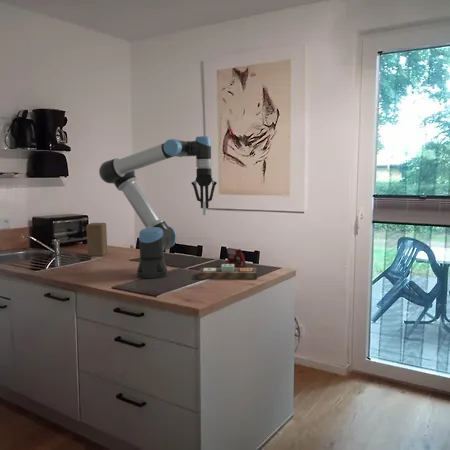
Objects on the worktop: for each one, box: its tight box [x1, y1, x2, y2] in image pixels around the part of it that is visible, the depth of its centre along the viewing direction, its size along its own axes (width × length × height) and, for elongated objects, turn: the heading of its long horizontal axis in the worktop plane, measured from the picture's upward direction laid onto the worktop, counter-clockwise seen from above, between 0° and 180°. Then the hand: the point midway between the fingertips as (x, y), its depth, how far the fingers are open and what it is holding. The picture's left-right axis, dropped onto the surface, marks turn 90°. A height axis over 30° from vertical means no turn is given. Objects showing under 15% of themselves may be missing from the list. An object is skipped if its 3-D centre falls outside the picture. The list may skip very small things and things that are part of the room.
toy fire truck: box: [224, 247, 247, 268], centre depth 239 cm, size 7×12×10 cm, turn 42°
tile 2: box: [220, 263, 234, 272], centre depth 220 cm, size 6×6×3 cm
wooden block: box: [86, 222, 108, 257], centre depth 282 cm, size 10×10×20 cm
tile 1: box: [203, 267, 217, 272], centre depth 221 cm, size 6×6×3 cm
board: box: [197, 267, 258, 280], centre depth 220 cm, size 28×12×3 cm, turn 86°
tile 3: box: [239, 267, 254, 272], centre depth 219 cm, size 6×6×3 cm
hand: (204, 214), depth 227 cm, fingers closed
